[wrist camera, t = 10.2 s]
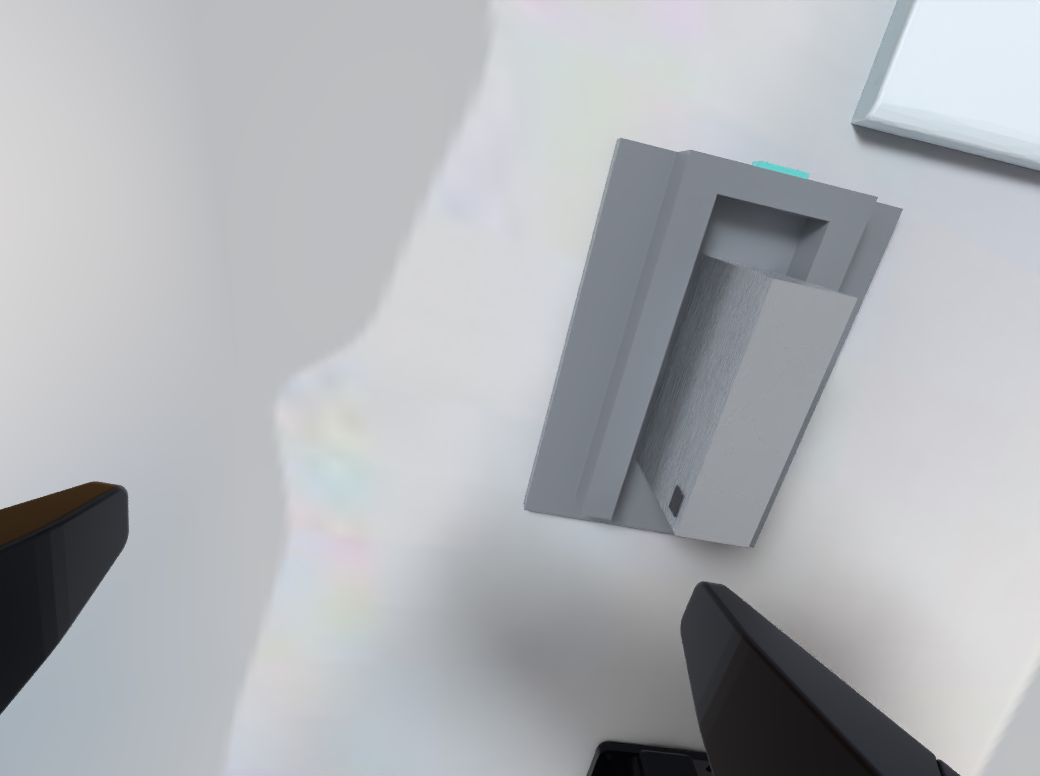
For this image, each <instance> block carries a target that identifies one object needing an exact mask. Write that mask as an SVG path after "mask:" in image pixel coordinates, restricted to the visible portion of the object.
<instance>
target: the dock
mask: <svg viewBox="0 0 1040 776" xmlns="http://www.w3.org/2000/svg"><path fill="white" fill-rule="evenodd" d="M809 174H810V173H806V172H802V171H798V170H794V169H790V168H786V167H782V166H778V165H775V164H771V163H767V162H763V161H758V162H753V163H752V165H749V164H745V163H741V162H737V161H733V160H729V159H725V158H721V157H717V156H713V155H709V154H705V153H701V152H697V151H693V150H688V151H682V152H675V151H671V150H667V149H663V148H659V147H655V146H651V145H647V144H643V143H639V142H635V141H631V140H627V139H623V138H619V139H617V143H616V147H615V151H614V155H613V158H612V162H611V166H610V170H609V174H608V178H607V182H606V186H605V189H604V193H603V197H602V201H601V205H600V209H599V213H598V217H597V221H596V224H595V228H594V232H593V236H592V240H591V244H590V248H589V252H588V255H587V259H586V263H585V267H584V271H583V275H582V279H581V283H580V287H579V290H578V294H577V298H576V302H575V306H574V310H573V314H572V318H571V321H570V325H569V329H568V333H567V337H566V341H565V345H564V349H563V353H562V356H561V360H560V364H559V368H558V372H557V376H556V380H555V384H554V387H553V391H552V395H551V399H550V403H549V407H548V411H547V415H546V419H545V422H544V426H543V430H542V434H541V438H540V442H539V446H538V450H537V453H536V457H535V461H534V465H533V469H532V473H531V477H530V481H529V484H528V488H527V492H526V496H525V500H524V510H528V511H534V512H540V513H547V514H553V515H559V516H565V517H571V518H577V519H583V520H589V521H595V522H601V523H608V524H614V525H620V526H626V527H632V528H638V529H644V530H650V531H656V532H663V533H669V534H675V533H674V531H673V529H672V528H671V526H670V524H669V522H668V520H667V518H666V516H665V514H664V512H663V510H662V508H661V506H660V504H659V502H658V500H657V498H656V496H655V494H654V492H653V490H652V489H651V487H650V485H649V483H648V481H647V479H646V477H645V475H644V473H643V471H642V469H641V467H640V465H639V463H638V461H637V459H636V456H637V453H638V450H639V447H640V444H641V441H642V438H643V435H644V432H645V429H646V426H647V423H648V420H649V417H650V414H651V411H652V408H653V405H654V402H655V399H656V396H657V393H658V390H659V387H660V384H661V381H662V378H663V375H664V372H665V369H666V366H667V363H668V360H669V357H670V354H671V351H672V348H673V345H674V342H675V338H676V335H677V332H678V329H679V326H680V323H681V320H682V317H683V314H684V311H685V308H686V305H687V302H688V299H689V296H690V293H691V290H692V287H693V284H694V281H695V278H696V275H697V272H698V269H699V266H700V263H701V260H702V257H703V254H704V255H708V256H713V257H717V258H721V259H726V260H730V261H734V262H739V263H743V264H747V265H752V266H756V267H760V268H765V269H769V270H772V271H775V272H778V273H781V274H784V275H787V276H791V277H794V278H797V279H800V280H803V281H806V282H809V283H812V284H816V285H819V286H822V287H825V288H828V289H831V290H834V291H837V292H841V293H844V294H847V295H850V296H853V297H856V298H858V299H857V301H856V303H855V306H854V308H853V310H852V313H851V315H850V317H849V319H848V322H847V324H846V326H845V329H844V331H843V333H842V335H841V338H840V340H839V342H838V344H837V347H836V349H835V351H834V354H833V356H832V358H831V360H830V363H829V365H828V367H827V370H826V372H825V374H824V376H823V379H822V381H821V383H820V385H819V388H818V390H817V392H816V395H815V397H814V399H813V401H812V404H811V406H810V408H809V411H808V413H807V415H806V417H805V420H804V422H803V424H802V426H801V429H800V431H799V433H798V436H797V438H796V440H795V442H794V445H793V447H792V449H791V452H790V454H789V456H788V458H787V461H786V463H785V465H784V467H783V470H782V472H781V474H780V477H779V479H778V481H777V483H776V486H775V488H774V490H773V493H772V495H771V497H770V499H769V502H768V504H767V506H766V509H765V511H764V513H763V515H762V518H761V520H760V522H759V524H758V527H757V529H756V531H755V534H754V536H753V538H752V540H751V543H750V545H749V547H754V546H755V543H756V541H757V539H758V536H759V534H760V532H761V530H762V527H763V525H764V523H765V521H766V518H767V516H768V514H769V512H770V509H771V507H772V505H773V502H774V500H775V498H776V496H777V493H778V491H779V489H780V487H781V484H782V482H783V480H784V478H785V475H786V473H787V471H788V468H789V466H790V464H791V462H792V459H793V457H794V455H795V453H796V450H797V448H798V446H799V444H800V441H801V439H802V437H803V434H804V432H805V430H806V428H807V425H808V423H809V421H810V419H811V416H812V414H813V412H814V410H815V407H816V405H817V403H818V400H819V398H820V396H821V394H822V391H823V389H824V387H825V385H826V382H827V380H828V378H829V376H830V373H831V371H832V369H833V366H834V364H835V362H836V360H837V357H838V355H839V353H840V351H841V348H842V346H843V344H844V342H845V339H846V337H847V335H848V332H849V330H850V328H851V326H852V323H853V321H854V319H855V317H856V314H857V312H858V310H859V308H860V305H861V303H862V301H863V298H864V296H865V294H866V292H867V289H868V287H869V285H870V283H871V280H872V278H873V276H874V274H875V271H876V269H877V267H878V264H879V262H880V260H881V258H882V255H883V253H884V251H885V249H886V246H887V244H888V242H889V240H890V237H891V235H892V233H893V230H894V228H895V226H896V224H897V221H898V219H899V217H900V215H901V212H902V210H903V209H901V208H897V207H893V206H889V205H885V204H881V203H877V202H876V200H877V198H878V197H875V196H871V195H867V194H863V193H859V192H855V191H851V190H847V189H843V188H839V187H836V186H832V185H828V184H824V183H820V182H816V181H812V180H808V176H809Z"/></svg>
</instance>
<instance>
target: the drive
mask: <svg viewBox="0 0 1040 776" xmlns="http://www.w3.org/2000/svg"><path fill="white" fill-rule="evenodd" d="M857 299H858V298H856V297H853V296H850V295H847V294H844V293H841V292H837V291H834V290H831V289H828V288H825V287H822V286H819V285H816V284H812V283H809V282H806V281H803V280H800V279H797V278H794V277H791V276H787V275H784V274H781V273H778V272H775V271H772V270H769V269H765V268H760V267H756V266H752V265H747V264H743V263H739V262H734V261H730V260H726V259H721V258H717V257H713V256H708V255H704V254H703V257H702V260H701V263H700V266H699V269H698V272H697V275H696V278H695V281H694V284H693V287H692V290H691V293H690V296H689V299H688V302H687V305H686V308H685V311H684V314H683V317H682V320H681V323H680V326H679V329H678V332H677V335H676V338H675V342H674V345H673V348H672V351H671V354H670V357H669V360H668V363H667V366H666V369H665V372H664V375H663V378H662V381H661V384H660V387H659V390H658V393H657V396H656V399H655V402H654V405H653V408H652V411H651V414H650V417H649V420H648V423H647V426H646V429H645V432H644V435H643V438H642V441H641V444H640V447H639V450H638V453H637V456H636V459H637V461H638V463H639V465H640V467H641V469H642V471H643V473H644V475H645V477H646V479H647V481H648V483H649V485H650V487H651V489H652V490H653V492H654V494H655V496H656V498H657V500H658V502H659V504H660V506H661V508H662V510H663V512H664V514H665V516H666V518H667V520H668V522H669V524H670V526H671V528H672V529H673V531H674V533H675V535H676V536H680V537H686V538H692V539H698V540H704V541H711V542H717V543H723V544H729V545H735V546H741V547H747V548H748V547H749V545H750V543H751V540H752V538H753V536H754V534H755V531H756V529H757V527H758V524H759V522H760V520H761V518H762V515H763V513H764V511H765V509H766V506H767V504H768V502H769V499H770V497H771V495H772V493H773V490H774V488H775V486H776V483H777V481H778V479H779V477H780V474H781V472H782V470H783V467H784V465H785V463H786V461H787V458H788V456H789V454H790V452H791V449H792V447H793V445H794V442H795V440H796V438H797V436H798V433H799V431H800V429H801V426H802V424H803V422H804V420H805V417H806V415H807V413H808V411H809V408H810V406H811V404H812V401H813V399H814V397H815V395H816V392H817V390H818V388H819V385H820V383H821V381H822V379H823V376H824V374H825V372H826V370H827V367H828V365H829V363H830V360H831V358H832V356H833V354H834V351H835V349H836V347H837V344H838V342H839V340H840V338H841V335H842V333H843V331H844V329H845V326H846V324H847V322H848V319H849V317H850V315H851V313H852V310H853V308H854V306H855V303H856V301H857Z"/></svg>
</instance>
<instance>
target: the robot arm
mask: <svg viewBox="0 0 1040 776" xmlns="http://www.w3.org/2000/svg"><path fill="white" fill-rule="evenodd" d="M128 533H129V518H128V493H127V490H126V489H125V488H124V487H123V486H121V485H115V484H109V483H103V482H90V483H86V484H83V485H80V486H76V487H73V488H70V489H66V490H63V491H60V492H56V493H53V494H50V495H47V496H44V497H40V498H37V499H34V500H30V501H27V502H24V503H20V504H17V505H14V506H11V507H8V508H4V509H1V510H0V714H1V713H2V712H3V711H4V710H5V708H6V707H7V706H8V705H9V704H10V702H11V701H12V700H13V699H14V698H15V696H16V695H17V694H18V693H19V692H20V690H21V689H22V688H23V687H24V686H25V684H26V683H27V682H28V681H29V679H30V678H31V677H32V676H33V675H34V673H35V672H36V671H37V670H38V669H39V667H40V666H41V665H42V664H43V662H44V661H45V660H46V659H47V658H48V656H49V655H50V654H51V653H52V651H53V650H54V649H55V647H56V646H57V645H58V644H59V642H60V641H61V640H62V638H63V637H64V635H65V634H66V633H67V631H68V630H69V628H70V627H71V626H72V624H73V623H74V621H75V619H76V618H77V617H78V615H79V614H80V612H81V611H82V609H83V608H84V606H85V605H86V603H87V602H88V600H89V599H90V597H91V596H92V594H93V593H94V592H95V590H96V589H97V587H98V586H99V584H100V582H101V581H102V580H103V578H104V577H105V575H106V574H107V572H108V571H109V569H110V567H111V566H112V565H113V563H114V562H115V560H116V559H117V557H118V556H119V554H120V553H121V552H122V550H123V548H124V546H125V544H126V542H127V539H128ZM680 628H681V638H682V643H683V648H684V653H685V658H686V664H687V669H688V674H689V679H690V684H691V690H692V695H693V700H694V705H695V710H696V715H697V719H698V724H699V728H700V732H701V735H702V739H703V743H704V746H705V749H706V753H707V754H706V753H698V752H689V751H680V750H671V749H663V748H654V747H645V746H636V745H628V744H619V743H610V742H605V743H602V744H600V745H599V746H598V748H597V750H596V752H595V755H594V758H593V760H592V763H591V765H590V768H589V771H588V773H587V776H960V775H959V774H958V773H957V772H955V771H954V770H953V769H952V768H950V767H949V766H948V765H947V764H945V763H944V762H943V761H942V760H939V759H938V760H936V757H935V755H934V754H933V753H932V752H930V751H929V750H928V749H927V748H925V747H924V746H923V745H922V744H921V743H919V742H918V741H917V740H916V739H914V738H913V737H912V736H911V735H909V734H908V733H907V732H906V731H904V730H903V729H902V728H901V727H899V726H898V725H897V724H896V723H894V722H893V721H892V720H891V719H890V718H888V717H887V716H886V715H885V714H883V713H882V712H881V711H880V710H878V709H877V708H876V707H875V706H873V705H872V704H871V703H870V702H868V701H867V700H866V699H865V698H864V697H862V696H861V695H860V694H859V693H857V692H856V691H855V690H854V689H852V688H851V687H850V686H849V685H847V684H846V683H845V682H844V681H842V680H841V679H840V678H839V677H838V676H836V675H835V674H834V673H833V672H831V671H830V670H829V669H828V668H826V667H825V666H824V665H823V664H821V663H820V662H819V661H818V660H816V659H815V658H814V657H813V656H812V655H810V654H809V653H808V652H807V651H805V650H804V649H803V648H802V647H800V646H799V645H798V644H797V643H795V642H794V641H793V640H792V639H790V638H789V637H788V636H787V635H786V634H784V633H783V632H782V631H781V630H779V629H778V628H777V627H776V626H774V625H773V624H772V623H771V622H769V621H768V620H767V619H766V618H765V617H763V616H762V615H761V614H760V613H758V612H757V611H756V610H755V609H753V608H752V607H751V606H750V605H748V604H747V603H746V602H745V601H743V600H742V599H741V598H740V597H739V596H737V595H736V594H735V593H734V592H732V591H731V590H730V589H729V588H727V587H726V586H724V585H722V584H716V583H710V582H700V583H698V584H697V585H696V587H695V589H694V591H693V593H692V596H691V598H690V600H689V603H688V605H687V607H686V610H685V612H684V614H683V617H682V620H681V627H680Z"/></svg>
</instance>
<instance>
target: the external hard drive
mask: <svg viewBox="0 0 1040 776" xmlns="http://www.w3.org/2000/svg"><path fill="white" fill-rule="evenodd" d="M851 123H852V124H854V125H859V126H863V127H867V128H871V129H875V130H879V131H882V132H887V133H890V134H894V135H898V136H902V137H906V138H911V139H915V140H919V141H923V142H927V143H931V144H935V145H939V146H943V147H947V148H951V149H954V150H958V151H962V152H966V153H970V154H974V155H978V156H982V157H986V158H990V159H995V160H998V161H1002V162H1007V163H1010V164H1014V165H1018V166H1022V167H1026V168H1030V169H1034V170H1038V171H1040V0H897V3H896V5H895V8H894V11H893V13H892V16H891V18H890V21H889V24H888V26H887V29H886V32H885V34H884V37H883V39H882V42H881V45H880V47H879V50H878V53H877V55H876V58H875V60H874V63H873V66H872V68H871V71H870V74H869V76H868V79H867V81H866V84H865V87H864V89H863V92H862V95H861V97H860V100H859V102H858V105H857V108H856V110H855V113H854V115H853V118H852V121H851Z"/></svg>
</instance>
